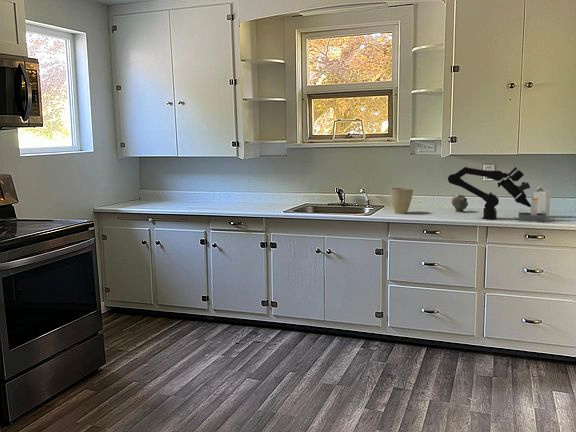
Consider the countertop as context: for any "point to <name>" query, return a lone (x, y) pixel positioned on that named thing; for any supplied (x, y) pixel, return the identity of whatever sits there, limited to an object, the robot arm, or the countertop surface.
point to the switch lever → (534, 206)
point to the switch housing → (533, 217)
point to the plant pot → (401, 199)
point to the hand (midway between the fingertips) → (530, 206)
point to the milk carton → (542, 199)
